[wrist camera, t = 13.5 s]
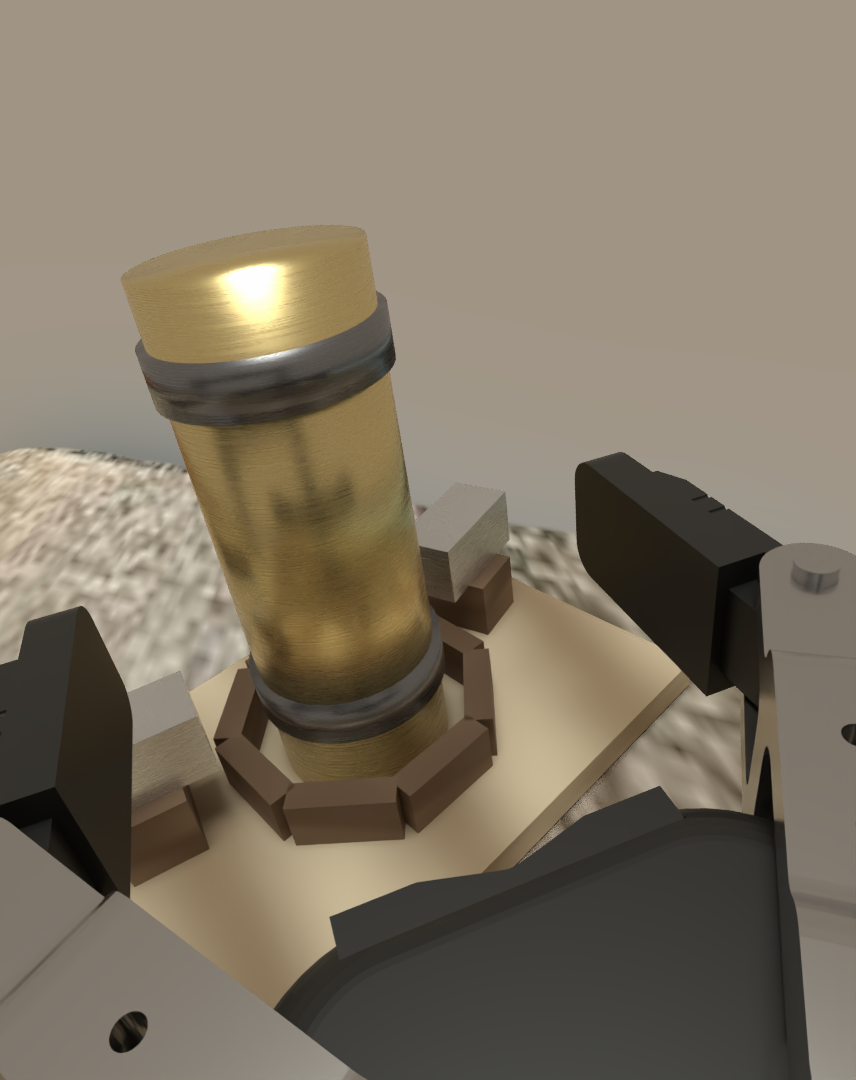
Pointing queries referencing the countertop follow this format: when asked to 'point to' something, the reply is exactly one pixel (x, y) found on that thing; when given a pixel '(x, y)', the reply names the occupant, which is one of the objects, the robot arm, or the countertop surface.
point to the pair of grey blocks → (449, 569)
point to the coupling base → (394, 784)
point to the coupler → (301, 484)
